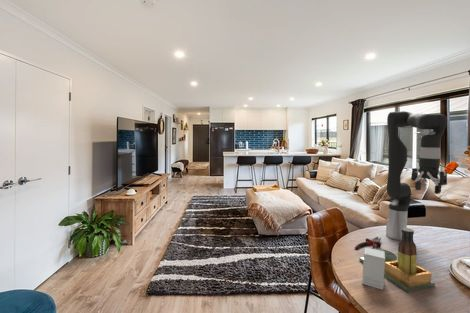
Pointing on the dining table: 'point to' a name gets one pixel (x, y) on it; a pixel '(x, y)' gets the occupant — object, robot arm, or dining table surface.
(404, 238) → the sauce bottle
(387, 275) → the chute mount
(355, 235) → the dining table surface
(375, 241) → the pliers
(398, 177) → the robot arm
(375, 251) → the supplement box
